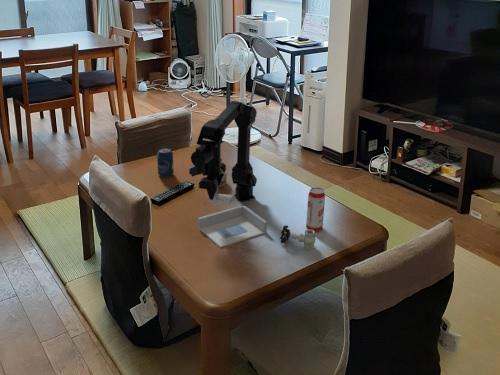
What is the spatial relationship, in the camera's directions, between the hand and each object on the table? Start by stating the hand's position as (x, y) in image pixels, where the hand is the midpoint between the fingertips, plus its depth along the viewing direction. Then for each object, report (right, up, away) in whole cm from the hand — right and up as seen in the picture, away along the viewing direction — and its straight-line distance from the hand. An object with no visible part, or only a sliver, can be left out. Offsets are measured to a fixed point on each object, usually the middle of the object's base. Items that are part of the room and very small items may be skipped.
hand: (213, 196), depth 214 cm
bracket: (+3, -2, 0) cm, 3 cm away
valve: (+31, -18, -8) cm, 37 cm away
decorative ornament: (0, +5, +37) cm, 38 cm away
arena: (+7, -13, +1) cm, 15 cm away
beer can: (+38, -12, +3) cm, 40 cm away
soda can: (-24, +9, +45) cm, 51 cm away
